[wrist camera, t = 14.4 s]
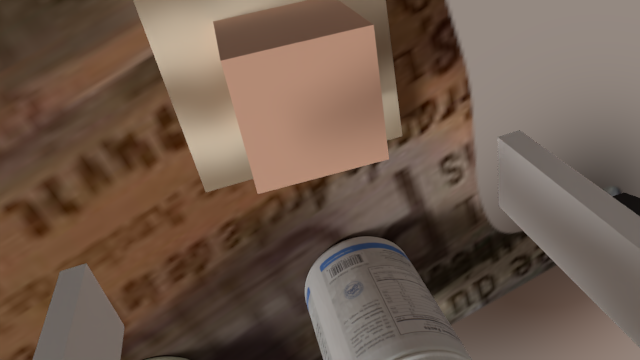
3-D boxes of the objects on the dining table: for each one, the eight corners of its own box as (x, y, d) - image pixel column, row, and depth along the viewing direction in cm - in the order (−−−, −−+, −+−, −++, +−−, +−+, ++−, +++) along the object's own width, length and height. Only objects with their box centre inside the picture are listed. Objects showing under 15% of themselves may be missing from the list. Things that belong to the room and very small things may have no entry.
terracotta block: (243, 131, 32) (257, 194, 26) (213, 21, 29) (220, 60, 22) (347, 105, 33) (388, 159, 26) (330, -6, 29) (373, 24, 23)
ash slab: (129, -33, 29) (123, -26, 27) (359, -89, 30) (375, -87, 28) (204, 171, 36) (205, 192, 34) (387, 119, 38) (402, 135, 35)
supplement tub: (379, 324, 47) (448, 478, 35) (285, 310, 44) (324, 476, 31) (426, 241, 44) (522, 380, 31) (328, 219, 40) (391, 366, 28)
